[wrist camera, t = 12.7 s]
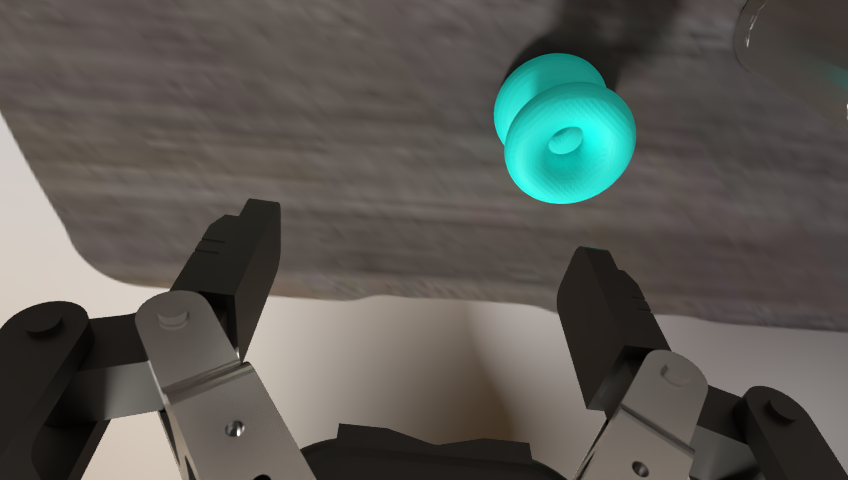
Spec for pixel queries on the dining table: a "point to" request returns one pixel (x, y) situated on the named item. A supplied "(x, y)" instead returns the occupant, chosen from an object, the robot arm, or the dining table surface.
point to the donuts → (563, 129)
